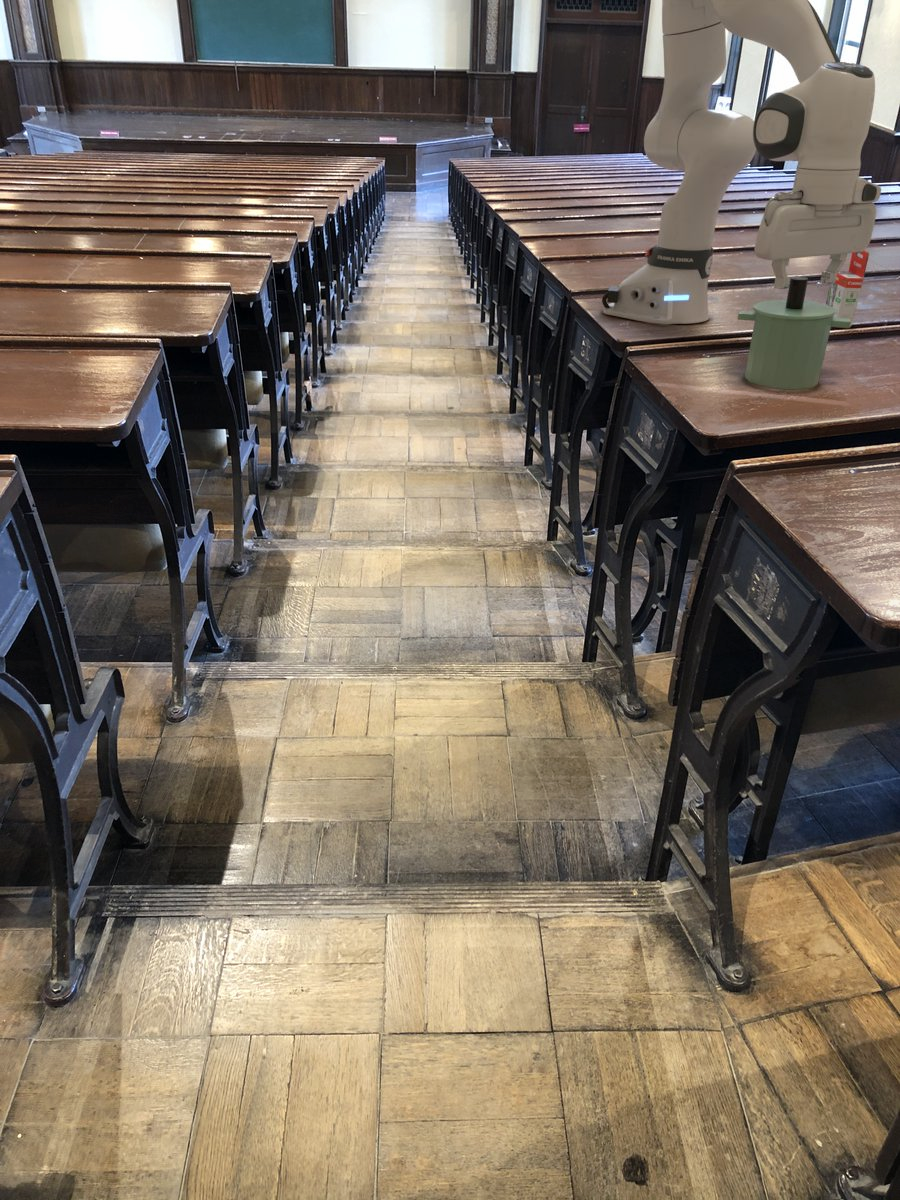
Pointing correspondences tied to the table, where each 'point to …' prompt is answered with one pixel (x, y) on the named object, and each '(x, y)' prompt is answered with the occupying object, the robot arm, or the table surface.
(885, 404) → the table surface
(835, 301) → the ink box
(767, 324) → the pot
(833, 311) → the lid
